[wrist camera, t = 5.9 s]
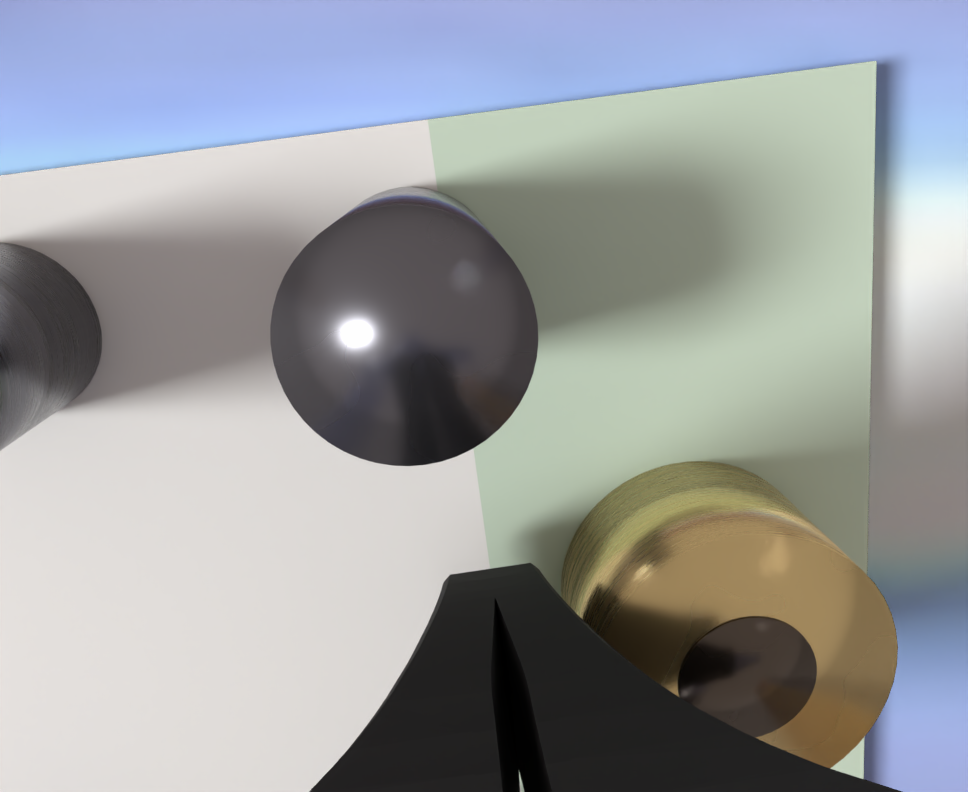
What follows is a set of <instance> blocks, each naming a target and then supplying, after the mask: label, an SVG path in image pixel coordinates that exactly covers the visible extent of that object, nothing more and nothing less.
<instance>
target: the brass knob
mask: <svg viewBox="0 0 968 792" xmlns="http://www.w3.org/2000/svg"><path fill="white" fill-rule="evenodd" d="M561 596H562V598H563V600H564V601H565V602H566V603H567V604H568V605H569V606H570V607H571V608H572V609H573V610H574V611H575V613H576V614H577V615H578V616H579V617H581V618H582V619H583V620H584V621H585V622H586V623H587V624H588V625H589V626H590V627H591V628H592V629H593V630H594V631H595V632H596V633H597V634H598V635H599V636H600V637H601V638H602V639H604V640H605V641H606V642H607V643H608V644H609V645H610V646H611V647H612V648H614V649H615V650H616V651H617V652H618V653H620V654H621V655H622V656H623V657H625V658H626V659H627V660H628V661H629V662H631V663H632V664H633V665H634V666H636V667H637V668H638V669H639V670H641V671H642V672H643V673H645V674H646V675H647V676H649V677H650V678H651V679H653V680H654V681H656V682H657V683H659V684H660V685H662V686H663V687H665V688H666V689H668V690H669V691H671V692H672V693H674V694H675V695H677V696H678V697H680V698H681V699H683V700H685V701H687V702H688V703H690V704H692V705H693V706H695V707H697V708H698V709H700V710H702V711H704V712H706V713H708V714H710V715H711V716H713V717H715V718H717V719H719V720H721V721H723V722H725V723H727V724H728V725H730V726H732V727H734V728H736V729H738V730H740V731H742V732H744V733H746V734H748V735H750V736H753V737H755V738H757V739H759V740H761V741H763V742H766V743H768V744H770V745H772V746H775V747H777V748H780V749H782V750H784V751H787V752H789V753H792V754H794V755H797V756H799V757H802V758H804V759H806V760H809V761H811V762H814V763H816V764H819V765H822V766H824V767H827V768H832V767H833V766H834V765H835V764H837V763H838V762H839V761H841V760H842V759H843V758H844V757H845V756H846V755H847V754H849V753H850V752H851V751H852V750H853V749H854V748H855V747H856V746H857V745H858V744H859V742H860V741H861V740H862V739H863V738H864V736H865V735H866V734H867V733H868V732H869V730H870V729H871V727H872V726H873V724H874V723H875V721H876V720H877V718H878V717H879V715H880V713H881V711H882V709H883V707H884V705H885V703H886V701H887V699H888V696H889V693H890V690H891V687H892V685H893V682H894V677H895V671H896V666H897V650H898V646H897V636H896V629H895V625H894V621H893V618H892V614H891V612H890V609H889V607H888V605H887V603H886V601H885V598H884V597H883V595H882V594H881V592H880V591H879V589H878V588H877V586H876V585H875V583H874V582H873V581H872V580H871V579H870V578H869V577H868V576H867V575H866V574H865V573H864V571H863V570H862V569H861V568H859V567H858V566H857V565H856V564H855V563H854V562H853V561H852V560H851V559H850V558H849V557H848V556H847V555H846V554H845V553H844V552H843V551H842V550H841V549H840V548H838V547H837V546H836V545H835V544H834V543H833V542H832V541H831V540H830V539H829V538H828V537H827V536H826V535H825V534H824V533H823V532H822V531H821V530H820V529H819V528H818V527H816V526H815V525H814V524H813V523H812V522H811V521H810V520H809V519H808V518H807V517H806V516H805V515H804V514H803V513H802V512H801V511H800V510H799V509H798V508H797V507H796V506H794V505H793V504H792V503H791V502H790V501H789V500H788V499H787V498H786V497H785V496H784V495H783V494H782V493H781V492H780V491H779V490H778V489H776V488H775V487H774V486H773V485H771V484H770V483H769V482H767V481H766V480H764V479H763V478H761V477H759V476H757V475H756V474H754V473H752V472H749V471H747V470H744V469H742V468H739V467H736V466H732V465H728V464H724V463H718V462H709V461H688V462H681V463H673V464H669V465H665V466H661V467H657V468H654V469H652V470H649V471H646V472H644V473H641V474H639V475H637V476H635V477H633V478H631V479H630V480H628V481H626V482H624V483H622V484H621V485H620V486H618V487H617V488H615V489H614V490H612V491H611V492H610V493H608V494H607V495H606V496H605V497H604V498H603V499H602V500H601V501H600V502H598V503H597V504H596V505H595V507H594V508H593V509H592V510H591V511H590V512H589V513H588V515H587V516H586V517H585V518H584V520H583V521H582V523H581V524H580V526H579V527H578V529H577V530H576V532H575V534H574V536H573V538H572V540H571V542H570V544H569V547H568V550H567V553H566V556H565V559H564V564H563V569H562V575H561Z"/></svg>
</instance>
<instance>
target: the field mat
mask: <svg viewBox="0 0 968 792" xmlns="http://www.w3.org/2000/svg"><path fill="white" fill-rule="evenodd" d="M875 115H876V61H871V62H864V63H856V64H848V65H841V66H833V67H825V68H818V69H810V70H802V71H795V72H787V73H780V74H772V75H764V76H757V77H749V78H741V79H734V80H726V81H718V82H711V83H703V84H696V85H688V86H680V87H673V88H665V89H657V90H650V91H642V92H634V93H627V94H619V95H611V96H604V97H596V98H589V99H581V100H573V101H566V102H558V103H550V104H543V105H535V106H527V107H520V108H512V109H504V110H497V111H489V112H482V113H474V114H466V115H459V116H451V117H443V118H436V119H428V120H420V121H413V122H405V123H397V124H390V125H382V126H375V127H367V128H359V129H352V130H344V131H336V132H329V133H321V134H313V135H306V136H298V137H291V138H283V139H275V140H268V141H260V142H252V143H245V144H237V145H229V146H222V147H214V148H206V149H199V150H191V151H184V152H176V153H168V154H161V155H153V156H145V157H138V158H130V159H122V160H115V161H107V162H99V163H92V164H84V165H77V166H69V167H61V168H54V169H46V170H38V171H31V172H23V173H15V174H8V175H0V242H1V243H11V244H16V245H21V246H24V247H27V248H31V249H33V250H36V251H38V252H40V253H42V254H45V255H46V256H48V257H50V258H51V259H53V260H55V261H56V262H58V263H59V264H60V265H61V266H63V267H64V268H65V269H67V270H68V271H69V272H70V273H71V274H72V275H73V276H74V277H75V278H76V279H77V281H78V282H79V283H80V284H81V285H82V286H83V288H84V289H85V291H86V292H87V294H88V295H89V297H90V299H91V301H92V303H93V305H94V307H95V309H96V312H97V315H98V318H99V322H100V327H101V333H102V350H101V357H100V361H99V365H98V367H97V370H96V373H95V375H94V376H93V378H92V380H91V382H90V383H89V385H88V386H87V387H86V388H85V390H84V391H83V392H82V393H81V394H80V395H79V396H78V397H76V398H75V399H74V400H72V401H71V402H70V403H68V404H67V405H65V406H64V407H62V408H61V409H60V410H58V411H57V412H55V413H54V414H52V415H51V416H49V417H48V418H47V419H45V420H44V421H42V422H41V423H39V424H38V425H37V426H35V427H34V428H32V429H31V430H29V431H28V432H27V433H25V434H24V435H22V436H21V437H19V438H18V439H17V440H15V441H14V442H12V443H11V444H9V445H8V446H6V447H5V448H4V449H2V450H1V451H0V792H309V791H310V790H311V789H312V788H313V787H314V786H315V785H316V784H317V783H318V782H319V781H320V780H321V779H322V777H323V776H324V775H325V774H326V773H327V772H328V771H329V770H330V769H331V768H332V767H333V766H334V765H335V763H336V762H337V761H338V760H339V759H340V758H341V757H342V756H343V754H344V753H345V752H346V751H347V750H348V749H349V747H350V746H351V745H352V744H353V742H354V741H355V740H356V738H357V737H358V736H359V735H360V733H361V732H362V731H363V730H364V728H365V727H366V726H367V724H368V723H369V722H370V720H371V719H372V717H373V716H374V715H375V713H376V712H377V710H378V709H379V707H380V706H381V705H382V703H383V702H384V700H385V699H386V697H387V696H388V694H389V692H390V691H391V689H392V687H393V686H394V684H395V683H396V681H397V679H398V678H399V676H400V674H401V673H402V671H403V670H404V668H405V666H406V665H407V663H408V661H409V659H410V658H411V656H412V654H413V652H414V650H415V648H416V646H417V644H418V642H419V640H420V638H421V636H422V634H423V632H424V630H425V628H426V626H427V624H428V622H429V620H430V617H431V615H432V613H433V611H434V608H435V606H436V603H437V601H438V598H439V595H440V592H441V589H442V585H443V583H444V581H445V580H446V579H447V578H448V576H449V575H451V574H458V573H465V572H471V571H478V570H485V569H492V568H498V567H505V566H512V565H519V564H525V563H532V564H533V565H534V566H536V567H537V568H538V569H539V570H540V571H541V573H542V574H543V576H544V577H545V578H546V580H547V581H548V582H549V583H550V585H551V586H552V587H553V588H554V589H555V591H556V592H557V593H558V594H559V595H560V596H561V575H562V569H563V564H564V559H565V556H566V553H567V550H568V547H569V544H570V542H571V540H572V538H573V536H574V534H575V532H576V530H577V529H578V527H579V526H580V524H581V523H582V521H583V520H584V518H585V517H586V516H587V515H588V513H589V512H590V511H591V510H592V509H593V508H594V507H595V505H596V504H597V503H598V502H600V501H601V500H602V499H603V498H604V497H605V496H606V495H607V494H608V493H610V492H611V491H612V490H614V489H615V488H617V487H618V486H620V485H621V484H622V483H624V482H626V481H628V480H630V479H631V478H633V477H635V476H637V475H639V474H641V473H644V472H646V471H649V470H652V469H654V468H657V467H661V466H665V465H669V464H673V463H681V462H688V461H709V462H718V463H724V464H728V465H732V466H736V467H739V468H742V469H744V470H747V471H749V472H752V473H754V474H756V475H757V476H759V477H761V478H763V479H764V480H766V481H767V482H769V483H770V484H771V485H773V486H774V487H775V488H776V489H778V490H779V491H780V492H781V493H782V494H783V495H784V496H785V497H786V498H787V499H788V500H789V501H790V502H791V503H792V504H793V505H794V506H796V507H797V508H798V509H799V510H800V511H801V512H802V513H803V514H804V515H805V516H806V517H807V518H808V519H809V520H810V521H811V522H812V523H813V524H814V525H815V526H816V527H818V528H819V529H820V530H821V531H822V532H823V533H824V534H825V535H826V536H827V537H828V538H829V539H830V540H831V541H832V542H833V543H834V544H835V545H836V546H837V547H838V548H840V549H841V550H842V551H843V552H844V553H845V554H846V555H847V556H848V557H849V558H850V559H851V560H852V561H853V562H854V563H855V564H856V565H857V566H858V567H859V568H861V569H862V570H863V571H864V573H865V574H866V575H867V560H868V504H869V448H870V393H871V337H872V282H873V226H874V171H875ZM399 187H423V188H428V189H432V190H436V191H439V192H442V193H445V194H447V195H449V196H451V197H453V198H455V199H457V200H458V201H459V202H461V203H462V204H464V205H465V206H467V207H468V208H469V209H470V210H471V211H472V212H473V213H474V214H475V215H476V216H477V217H478V218H479V220H480V221H481V222H482V223H483V224H484V225H485V227H486V228H487V229H488V230H489V232H490V233H491V234H492V235H493V236H494V238H495V239H496V240H497V241H498V243H499V244H500V245H501V246H502V247H503V249H504V250H505V251H506V252H507V254H508V255H509V256H510V257H511V258H512V260H513V261H514V263H515V264H516V266H517V267H518V269H519V271H520V272H521V274H522V275H523V278H524V280H525V282H526V284H527V286H528V288H529V290H530V293H531V296H532V300H533V303H534V306H535V311H536V317H537V322H538V351H537V359H536V363H535V368H534V372H533V375H532V378H531V381H530V383H529V386H528V389H527V391H526V393H525V395H524V396H523V398H522V400H521V402H520V404H519V405H518V407H517V408H516V410H515V411H514V412H513V414H512V415H511V417H510V418H509V419H508V420H507V421H506V422H505V423H504V424H503V426H502V427H501V428H500V429H499V430H498V431H496V432H495V433H494V434H493V435H492V436H491V437H489V438H488V439H487V440H486V441H484V442H483V443H481V444H479V445H478V446H476V447H475V448H473V449H471V450H469V451H467V452H465V453H463V454H461V455H459V456H457V457H454V458H451V459H448V460H445V461H442V462H437V463H432V464H427V465H418V466H392V465H385V464H379V463H374V462H371V461H367V460H364V459H360V458H358V457H355V456H353V455H351V454H348V453H346V452H344V451H342V450H340V449H339V448H337V447H335V446H334V445H332V444H330V443H329V442H327V441H326V440H325V439H323V438H322V437H321V436H319V435H318V434H317V433H316V432H315V431H313V430H312V429H311V428H310V427H309V426H308V425H307V424H306V423H305V422H304V421H303V419H302V418H301V417H300V416H299V414H298V413H297V412H296V410H295V409H294V408H293V406H292V405H291V403H290V401H289V400H288V398H287V396H286V395H285V393H284V391H283V389H282V386H281V384H280V382H279V379H278V377H277V373H276V370H275V366H274V363H273V358H272V351H271V344H270V325H271V317H272V310H273V306H274V302H275V298H276V295H277V291H278V289H279V287H280V284H281V282H282V280H283V277H284V275H285V274H286V272H287V270H288V269H289V267H290V265H291V264H292V262H293V261H294V259H295V258H296V257H297V256H298V254H299V253H300V252H301V251H302V250H303V248H304V247H305V246H306V245H307V244H308V243H309V242H310V241H312V240H313V239H314V238H315V237H316V236H317V235H318V234H319V233H321V232H322V231H323V230H325V229H326V228H327V227H329V226H330V225H331V224H333V223H334V222H335V221H337V220H338V219H339V218H341V217H342V216H343V215H345V214H346V213H347V212H349V211H350V210H351V209H353V208H354V207H355V206H357V205H358V204H360V203H361V202H363V201H364V200H365V199H367V198H369V197H371V196H373V195H375V194H377V193H380V192H383V191H386V190H389V189H394V188H399ZM561 597H562V596H561ZM830 769H833V770H836V771H839V772H842V773H846V774H849V775H852V776H855V777H858V778H861V779H864V738H863V739H862V740H861V741H860V742H859V744H858V745H857V746H856V747H855V748H854V749H853V750H852V751H851V752H850V753H849V754H847V755H846V756H845V757H844V758H843V759H842V760H841V761H839V762H838V763H837V764H835V765H834V766H833V767H832V768H830ZM519 780H520V792H524V788H523V784H522V780H521V776H520V772H519Z"/></svg>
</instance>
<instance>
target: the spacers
mask: <svg viewBox="0 0 968 792" xmlns="http://www.w3.org/2000/svg"><path fill="white" fill-rule="evenodd" d="M270 344H271V351H272V358H273V363H274V366H275V370H276V373H277V377H278V379H279V382H280V384H281V386H282V389H283V391H284V393H285V395H286V396H287V398H288V400H289V401H290V403H291V405H292V406H293V408H294V409H295V410H296V412H297V413H298V414H299V416H300V417H301V418H302V419H303V421H304V422H305V423H306V424H307V425H308V426H309V427H310V428H311V429H312V430H313V431H315V432H316V433H317V434H318V435H319V436H321V437H322V438H323V439H325V440H326V441H327V442H329V443H330V444H332V445H334V446H335V447H337V448H339V449H340V450H342V451H344V452H346V453H348V454H351V455H353V456H355V457H358V458H360V459H364V460H367V461H371V462H374V463H379V464H385V465H392V466H418V465H427V464H432V463H437V462H442V461H445V460H448V459H451V458H454V457H457V456H459V455H461V454H463V453H465V452H467V451H469V450H471V449H473V448H475V447H476V446H478V445H479V444H481V443H483V442H484V441H486V440H487V439H488V438H489V437H491V436H492V435H493V434H494V433H495V432H496V431H498V430H499V429H500V428H501V427H502V426H503V424H504V423H505V422H506V421H507V420H508V419H509V418H510V417H511V415H512V414H513V412H514V411H515V410H516V408H517V407H518V405H519V404H520V402H521V400H522V398H523V396H524V395H525V393H526V391H527V389H528V386H529V383H530V381H531V378H532V375H533V372H534V368H535V363H536V359H537V351H538V322H537V317H536V311H535V306H534V303H533V300H532V296H531V293H530V290H529V288H528V286H527V284H526V282H525V280H524V278H523V275H522V274H521V272H520V271H519V269H518V267H517V266H516V264H515V263H514V261H513V260H512V258H511V257H510V256H509V255H508V254H507V252H506V251H505V250H504V249H503V247H502V246H501V245H500V244H499V243H498V241H497V240H496V239H495V238H494V236H493V235H492V234H491V233H490V232H489V230H488V229H487V228H486V227H485V225H484V224H483V223H482V222H481V221H480V220H479V218H478V217H477V216H476V215H475V214H474V213H473V212H472V211H471V210H470V209H469V208H468V207H467V206H465V205H464V204H462V203H461V202H459V201H458V200H457V199H455V198H453V197H451V196H449V195H447V194H445V193H442V192H439V191H436V190H432V189H428V188H423V187H399V188H394V189H389V190H386V191H383V192H380V193H377V194H375V195H373V196H371V197H369V198H367V199H365V200H364V201H363V202H361V203H360V204H358V205H357V206H355V207H354V208H353V209H351V210H350V211H349V212H347V213H346V214H345V215H343V216H342V217H341V218H339V219H338V220H337V221H335V222H334V223H333V224H331V225H330V226H329V227H327V228H326V229H325V230H323V231H322V232H321V233H319V234H318V235H317V236H316V237H315V238H314V239H313V240H312V241H310V242H309V243H308V244H307V245H306V246H305V247H304V248H303V250H302V251H301V252H300V253H299V254H298V256H297V257H296V258H295V259H294V261H293V262H292V264H291V265H290V267H289V269H288V270H287V272H286V274H285V275H284V277H283V280H282V282H281V284H280V287H279V289H278V291H277V295H276V298H275V302H274V306H273V310H272V317H271V325H270ZM101 350H102V333H101V327H100V322H99V318H98V315H97V312H96V309H95V307H94V305H93V303H92V301H91V299H90V297H89V295H88V294H87V292H86V291H85V289H84V288H83V286H82V285H81V284H80V283H79V282H78V281H77V279H76V278H75V277H74V276H73V275H72V274H71V273H70V272H69V271H68V270H67V269H65V268H64V267H63V266H61V265H60V264H59V263H58V262H56V261H55V260H53V259H51V258H50V257H48V256H46V255H45V254H42V253H40V252H38V251H36V250H33V249H31V248H27V247H24V246H21V245H16V244H11V243H1V242H0V451H1V450H2V449H4V448H5V447H6V446H8V445H9V444H11V443H12V442H14V441H15V440H17V439H18V438H19V437H21V436H22V435H24V434H25V433H27V432H28V431H29V430H31V429H32V428H34V427H35V426H37V425H38V424H39V423H41V422H42V421H44V420H45V419H47V418H48V417H49V416H51V415H52V414H54V413H55V412H57V411H58V410H60V409H61V408H62V407H64V406H65V405H67V404H68V403H70V402H71V401H72V400H74V399H75V398H76V397H78V396H79V395H80V394H81V393H82V392H83V391H84V390H85V388H86V387H87V386H88V385H89V383H90V382H91V380H92V378H93V376H94V375H95V373H96V370H97V367H98V365H99V361H100V357H101Z"/></svg>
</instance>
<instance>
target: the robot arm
mask: <svg viewBox="0 0 968 792" xmlns="http://www.w3.org/2000/svg"><path fill="white" fill-rule="evenodd" d="M519 772H520V776H521V780H522V784H523V788H524V792H901V791H898V790H895V789H892V788H889V787H886V786H883V785H880V784H877V783H873V782H870V781H867V780H864V779H861V778H858V777H855V776H852V775H849V774H846V773H842V772H839V771H836V770H833V769H830V768H827V767H824V766H822V765H819V764H816V763H814V762H811V761H809V760H806V759H804V758H802V757H799V756H797V755H794V754H792V753H789V752H787V751H784V750H782V749H780V748H777V747H775V746H772V745H770V744H768V743H766V742H763V741H761V740H759V739H757V738H755V737H753V736H750V735H748V734H746V733H744V732H742V731H740V730H738V729H736V728H734V727H732V726H730V725H728V724H727V723H725V722H723V721H721V720H719V719H717V718H715V717H713V716H711V715H710V714H708V713H706V712H704V711H702V710H700V709H698V708H697V707H695V706H693V705H692V704H690V703H688V702H687V701H685V700H683V699H681V698H680V697H678V696H677V695H675V694H674V693H672V692H671V691H669V690H668V689H666V688H665V687H663V686H662V685H660V684H659V683H657V682H656V681H654V680H653V679H651V678H650V677H649V676H647V675H646V674H645V673H643V672H642V671H641V670H639V669H638V668H637V667H636V666H634V665H633V664H632V663H631V662H629V661H628V660H627V659H626V658H625V657H623V656H622V655H621V654H620V653H618V652H617V651H616V650H615V649H614V648H612V647H611V646H610V645H609V644H608V643H607V642H606V641H605V640H604V639H602V638H601V637H600V636H599V635H598V634H597V633H596V632H595V631H594V630H593V629H592V628H591V627H590V626H589V625H588V624H587V623H586V622H585V621H584V620H583V619H582V618H581V617H579V616H578V615H577V614H576V613H575V611H574V610H573V609H572V608H571V607H570V606H569V605H568V604H567V603H566V602H565V601H564V600H563V598H562V597H561V596H560V595H559V594H558V593H557V592H556V591H555V589H554V588H553V587H552V586H551V585H550V583H549V582H548V581H547V580H546V578H545V577H544V576H543V574H542V573H541V571H540V570H539V569H538V568H537V567H536V566H534V565H533V564H532V563H525V564H519V565H512V566H505V567H498V568H492V569H485V570H478V571H471V572H465V573H458V574H451V575H449V576H448V578H447V579H446V580H445V581H444V583H443V585H442V589H441V592H440V595H439V598H438V601H437V603H436V606H435V608H434V611H433V613H432V615H431V617H430V620H429V622H428V624H427V626H426V628H425V630H424V632H423V634H422V636H421V638H420V640H419V642H418V644H417V646H416V648H415V650H414V652H413V654H412V656H411V658H410V659H409V661H408V663H407V665H406V666H405V668H404V670H403V671H402V673H401V674H400V676H399V678H398V679H397V681H396V683H395V684H394V686H393V687H392V689H391V691H390V692H389V694H388V696H387V697H386V699H385V700H384V702H383V703H382V705H381V706H380V707H379V709H378V710H377V712H376V713H375V715H374V716H373V717H372V719H371V720H370V722H369V723H368V724H367V726H366V727H365V728H364V730H363V731H362V732H361V733H360V735H359V736H358V737H357V738H356V740H355V741H354V742H353V744H352V745H351V746H350V747H349V749H348V750H347V751H346V752H345V753H344V754H343V756H342V757H341V758H340V759H339V760H338V761H337V762H336V763H335V765H334V766H333V767H332V768H331V769H330V770H329V771H328V772H327V773H326V774H325V775H324V776H323V777H322V779H321V780H320V781H319V782H318V783H317V784H316V785H315V786H314V787H313V788H312V789H311V790H310V791H309V792H520V780H519Z"/></svg>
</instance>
